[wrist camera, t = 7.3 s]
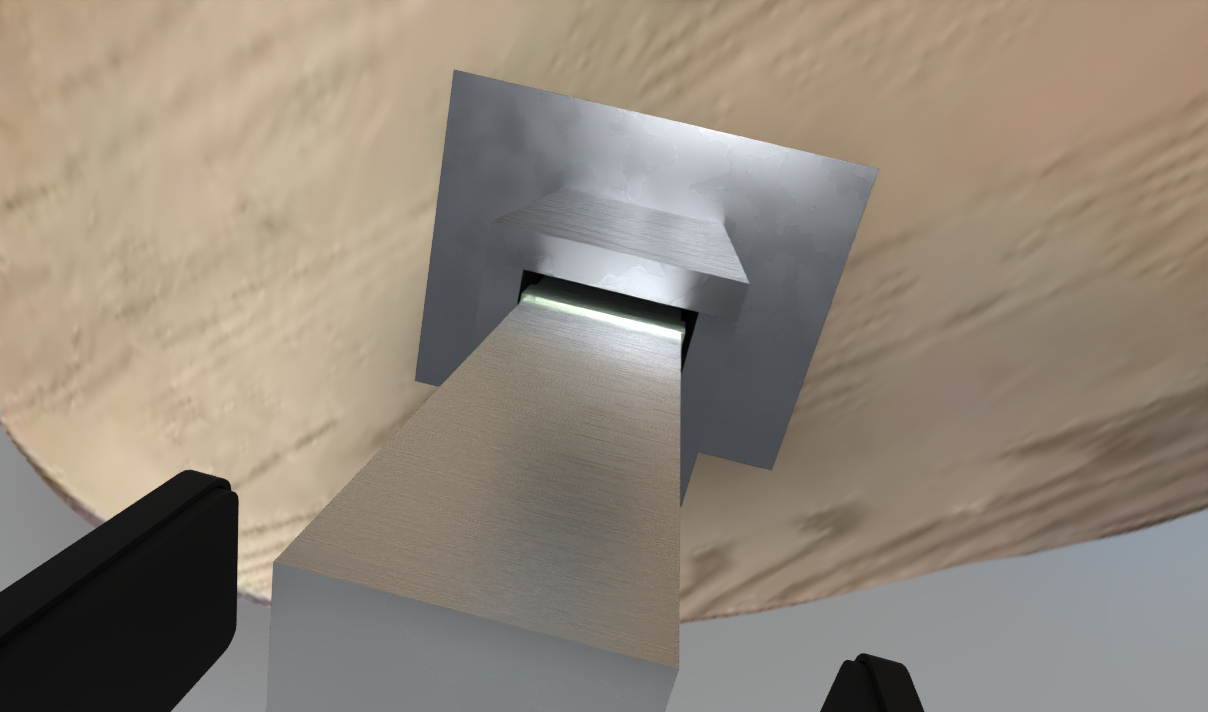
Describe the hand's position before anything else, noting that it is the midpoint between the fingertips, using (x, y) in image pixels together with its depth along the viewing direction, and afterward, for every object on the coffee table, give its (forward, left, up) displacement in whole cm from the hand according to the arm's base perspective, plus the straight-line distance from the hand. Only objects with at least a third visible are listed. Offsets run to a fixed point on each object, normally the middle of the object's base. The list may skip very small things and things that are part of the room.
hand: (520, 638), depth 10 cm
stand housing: (0, 0, -25) cm, 25 cm away
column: (0, 0, -17) cm, 18 cm away
